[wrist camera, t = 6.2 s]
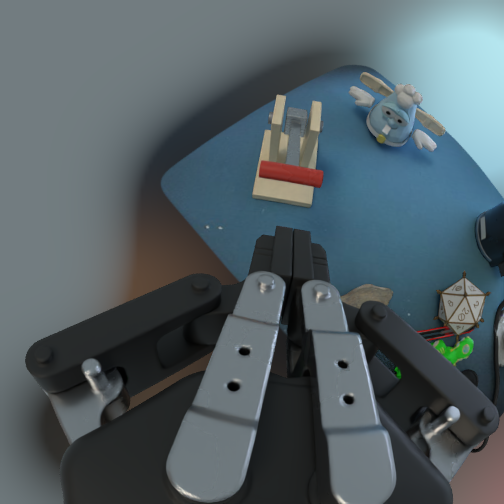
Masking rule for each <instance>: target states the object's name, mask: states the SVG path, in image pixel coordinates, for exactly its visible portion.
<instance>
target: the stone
mask: <svg viewBox="0 0 504 504" xmlns="http://www.w3.org/2000/svg"><path fill="white" fill-rule="evenodd" d="M392 294H393V291H391V289H389V288H382V287H377V286H374V285H372V284H365V285H362V286H360V287H358V288H355V289H353V290H352V291H351V292H349V293H348V294H346V295H344V296H340V297H341V301H342V302H344V303H346V304H348V305H351V306H354V307H356V308H359V309H360V306H361V305H362V303H364V302H366V301H378V302H381V303H383V304H385V305H388V303H389V301H390V299H391V297H392V296H393V295H392Z"/></svg>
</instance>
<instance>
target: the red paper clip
mask: <svg viewBox="0 0 504 504" xmlns="http://www.w3.org/2000/svg"><path fill="white" fill-rule="evenodd" d="M474 327H475V325H474V326H473V327H472V328H471V329H470V330H469V331H466V332H463V333H462V334H465V333H469V332H471V331H473V330H474ZM442 330H443V331H442ZM440 331H442V332H440ZM417 332H418V333H419V334H420V335H424V334H430V333H435V332H440V333H444V334H442V335H441V334H438V335H433V336H428V337H423V338H425V339H426V340H427V341H428V340H433V339H438V338H443V337H448V336H452V335H453V336H455V333H454V332H453V331H452V330H451V329H450V328H449V327H448V326H445V327H440V328H435V329H429V330H423V331H417ZM462 334H460V335H462Z"/></svg>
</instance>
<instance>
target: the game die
mask: <svg viewBox="0 0 504 504" xmlns="http://www.w3.org/2000/svg"><path fill="white" fill-rule="evenodd" d="M462 274H463V278H461V279H460V280H459V281H457V282H456V283H454V284H453V285H451V286H450V287H449V288H446V290H444V291H443V292H441V291H440V290H436V291H437V294H441V295H440V304H439V313H438V316H436V317H434V320H436V319H438V318H439V319H440V320H441V321H442V322H443V323H444V326H448V327H449V328H450V329H451V330H452V331H453V332H454V333H455V334H456V335H457V336H456V341H458V339H459V335H460V334H462V333H463V332H465V331H467V330H468V329H470V328H471V327H473V326H474V325H475V327H476V328H479V324H478V322H479V321H481V322H484V319H483V318H481V316H482V312H483V307H484V303H485V298H486V296H488V295H489V294H490V293H491V292H487V293H486V294H485V293H483V292H482V291H481V290H480V289H479V288H477V287H476V286H475V285H474V284H473V283H471V282H470V281H469V280H468V279H466V278H465V276H466V273H465V271H464V272H463V273H462Z"/></svg>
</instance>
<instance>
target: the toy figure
mask: <svg viewBox="0 0 504 504" xmlns="http://www.w3.org/2000/svg"><path fill="white" fill-rule="evenodd" d="M360 80H361V82H362V83H364V84H365V85H366V86H368V87H369V88H371V89H372V90H373V91H374V92H376V93H380V94H382V95H384V96H386V98H385V99H383V100H382V101H380V102H379V103H378V104H377V105H375V106H374V107H373V108H372V109H371V111H372V110H373V111H372V112H371V111H370V112H371V115H370V113H369V114H368V116H367V126H368V128H369V130H370V132H371V133H372V134H373V135H374V136H375V137H376V138H377V141H378V142H379V143H385V144H387V145H390V146H393V147H400V146H402V145H404V144H405V143H406V142H407V141H408V139H409V138H410V136H411V134H412V128H413V125H414V119H415V117H416V118H417V119H418V120H419V121H420V122H421V123H422V125H423V126H424V127H425V128H427V129H429V130H430V131H432V132H433V133H434V134H436V135H438V136H442V135H443V134H444V133H445V128H444V127H443V126H442V124H440V123H439V122H438V121H437V120H436V119H435V118H434V117H432V116H431V115H429V114H427V113H425V112H424V111H422V110H420V109H418V108H417V105H419V104H420V103H422V101H423V97H422V95H421V94H420V93H418V92H416V89H415V88H414V87H413V86H412V85H410V84H407V85H405V86H404V85H402V84H398V85H397V86H396V87H395V91H393V90H392V89H391V88H389V87H388V86H387V85H386V84H384V82H383V81H382V80H380V79H378V78H376V77H374V76H372V75H370V74H368V73H366V72H364V73H362V74H361V76H360ZM350 90H351V91H349V94H350V95H351V96H352V97H354V98H355V99H356V102H355V104H356V105H358V106H365V107H369V108H370V107H371V106H372V105H373V103H374V101H375V98H373V97H372V96H371V95H370V94H369V93H367V92H366V91H364V90H361V89H359V88H357V87H354V86H352V87H351V88H350ZM369 115H370V118H369ZM409 134H410V135H409ZM408 136H409V138H408ZM407 138H408V139H407ZM412 138H413V140H414V142H415V144H416V146H417V148H418V149H420V150H421V149H422V148H423V147H424V148H426V149H427V150H429V151H430V152H433V151H434V149H436V146H437V145H436V144H435V142H434V141H433V140H432V139H431V138H430V137H429V136H428V135H427V134H425V133H424V132H422V131H420V130H419V129H416V130H415V131H414V132H413V134H412ZM406 139H407V140H406ZM405 140H406V141H405ZM404 141H405V142H404ZM402 142H403V143H402Z"/></svg>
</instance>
